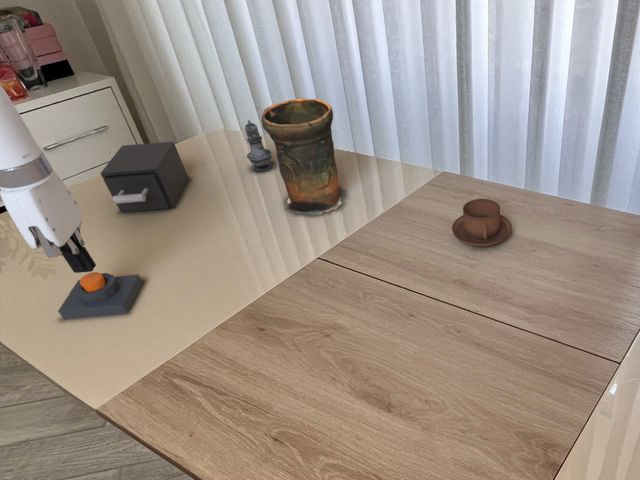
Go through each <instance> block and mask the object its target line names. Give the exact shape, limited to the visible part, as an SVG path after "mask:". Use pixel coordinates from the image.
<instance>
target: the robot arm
mask: <svg viewBox="0 0 640 480" xmlns="http://www.w3.org/2000/svg"><path fill="white" fill-rule="evenodd" d="M0 198H1V200H2V202H3V205H4V207H5V209H6V211H7V213H8V214H9V216H10V218H11V220H12V222H13V223H14V225H15V226H16V228H17V230H18V231H19V233H20V234H21V236H22V238H23V239H24V240H25V242H26V243H27V245H28V246H29V247H30V248H31V249H33V250H38V249H40V248H41V247H42V249H43V251H44V253H45V255H46V257H47V258H49V259H52V258H53V259H54V258H58V257H61V256H62V257H63V259H64V260H65V261H66V263H67V264H68V266H69V268H70V269H71V270H72V272H74V273H75V274H78V273H79V274H81V273H92V272H93V271H94V270H95V268H96V266H97V264H96V262H95V261H94V259H93V257H92V256H91V254H90V253H89V252H88V249H87V248H86V246H85V244H86V243H85V240H84V238H83V236H82V234H81V227H82V225H83V219H84V215H83V212H82V209H81V208H80V206H79V204H78V202H77V200H76V199H75V197H74V196H73V194H72V193H71V191H70V189H68V186H66V184H65V182H63V180H62V179H61V177H59V175H58V174H57V173H56V171H55V170H54V169H53V167H52V165H51V164H50V162H49V160H48V159H47V157H46V155H45V154H44V152H43V150H41V148H40V146H39V144H38V143H37V141H36V140H35V137H34V136H33V134H32V133H31V130H30V129H29V127H28V126H27V125H26V122H25V121H24V119H23V118H22V116H21V114H20V113H19V111H18V109H17V108H16V106H15V104H14V102H13V101H12V99H11V98H10V95H8V93H7V91H6V90H5V89H4V87H3V86H2V85H0Z"/></svg>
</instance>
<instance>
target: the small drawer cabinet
mask: <svg viewBox="0 0 640 480" xmlns="http://www.w3.org/2000/svg"><path fill="white" fill-rule="evenodd" d="M143 173H155V174H156V176H157V179H158V181H159V183H160V185H161V187H162V189H163V192H164V194H165V196H166V198H167V200H168V202H169V204H170V207H169V208H166V209H165V210H170V209H175V207H176V206H177V204H178V202H179V200H180V198H181V196H182V194H183V193H184V191H185V189H186V186H187V185H188V184H189V181H190V178H189V175H188V172H187V169H185V165H184V163H183V161H182V158H181V156H180V154H179V151H178V149H177V146H176V145H175V142H174V141H164V142H149V143H137V144H124V145H123V144H122V145H121V146H120V147H119V149H118V150H117V151H116V153H115V154H114V155H113V157H112V158H111V159H110V160H109V161H108V163H107V164H106V166H105V167H104V168H103V169H102V170H101V172H100V176H101V177H102V179H103V180H104V178H105V177H112V176H117V175H130V174H143ZM157 210H159V209H154V210H153V211H157ZM144 211H147V210H142V211H141V212H144ZM132 212H135V211H130V212H129V213H132Z"/></svg>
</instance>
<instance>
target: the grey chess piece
mask: <svg viewBox="0 0 640 480" xmlns="http://www.w3.org/2000/svg"><path fill="white" fill-rule="evenodd" d="M244 131H245V134H246V137H247V139H246V142H247V143H248V145H249V147H250V152H249V153H247V155H246V158H247V159H248V161H249V162H250V163H251V164H252V165H253V167H252V172H255V173H266V172H269V171H272V169H273V168H274V166H275V165H274V164H273V163H271V161H272V153H273V152H272V150H270V149H266V148H265V147H264V144H263V137H262V136H261V134H260V132H259V129H258V126H257V125H256V123H253V122H251V120H249V119H247V123H246V124H245V125H244Z"/></svg>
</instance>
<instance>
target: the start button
mask: <svg viewBox="0 0 640 480" xmlns="http://www.w3.org/2000/svg"><path fill="white" fill-rule="evenodd" d="M79 280H80V284H81V285H82V287H83V288H84V290H85V291H87V292H91V291H96V290H98V289H101V288H102V287H104V286H105V285H106V281H105V279H104V277H103V276H102V274H101V272H98V271H95V272H93V271H92V272H88V273H87V274H85V275H83V276H82V277H81V278H79Z"/></svg>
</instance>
